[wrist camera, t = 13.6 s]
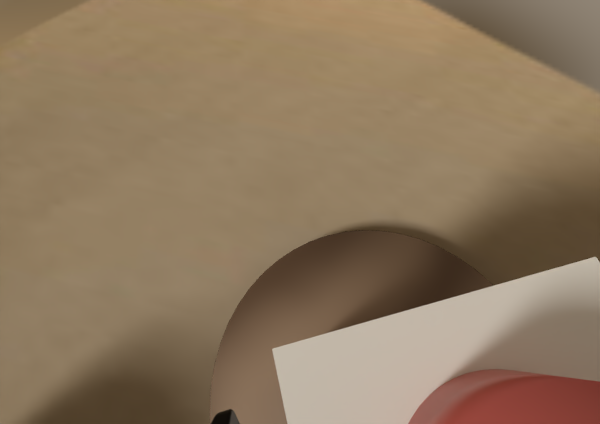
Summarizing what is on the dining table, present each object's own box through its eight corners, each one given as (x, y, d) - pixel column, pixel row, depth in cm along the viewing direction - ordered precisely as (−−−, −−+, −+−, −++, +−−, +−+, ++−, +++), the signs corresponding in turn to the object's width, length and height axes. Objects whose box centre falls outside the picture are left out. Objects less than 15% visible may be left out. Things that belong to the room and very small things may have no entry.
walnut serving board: (581, 324, 16) (600, 323, 15) (483, 732, 11) (500, 774, 10) (312, 195, 20) (311, 186, 19) (154, 453, 15) (140, 461, 14)
